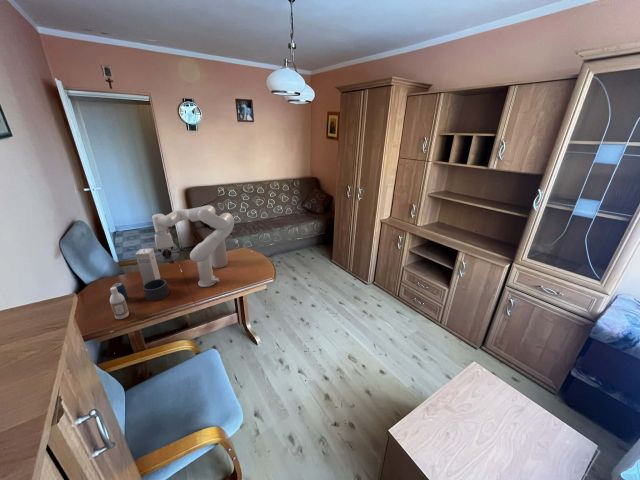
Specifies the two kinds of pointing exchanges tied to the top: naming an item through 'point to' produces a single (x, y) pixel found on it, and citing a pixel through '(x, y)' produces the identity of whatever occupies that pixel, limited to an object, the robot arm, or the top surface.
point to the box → (147, 265)
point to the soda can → (120, 289)
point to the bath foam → (118, 304)
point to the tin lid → (167, 257)
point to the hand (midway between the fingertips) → (167, 256)
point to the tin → (155, 289)
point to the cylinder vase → (219, 256)
